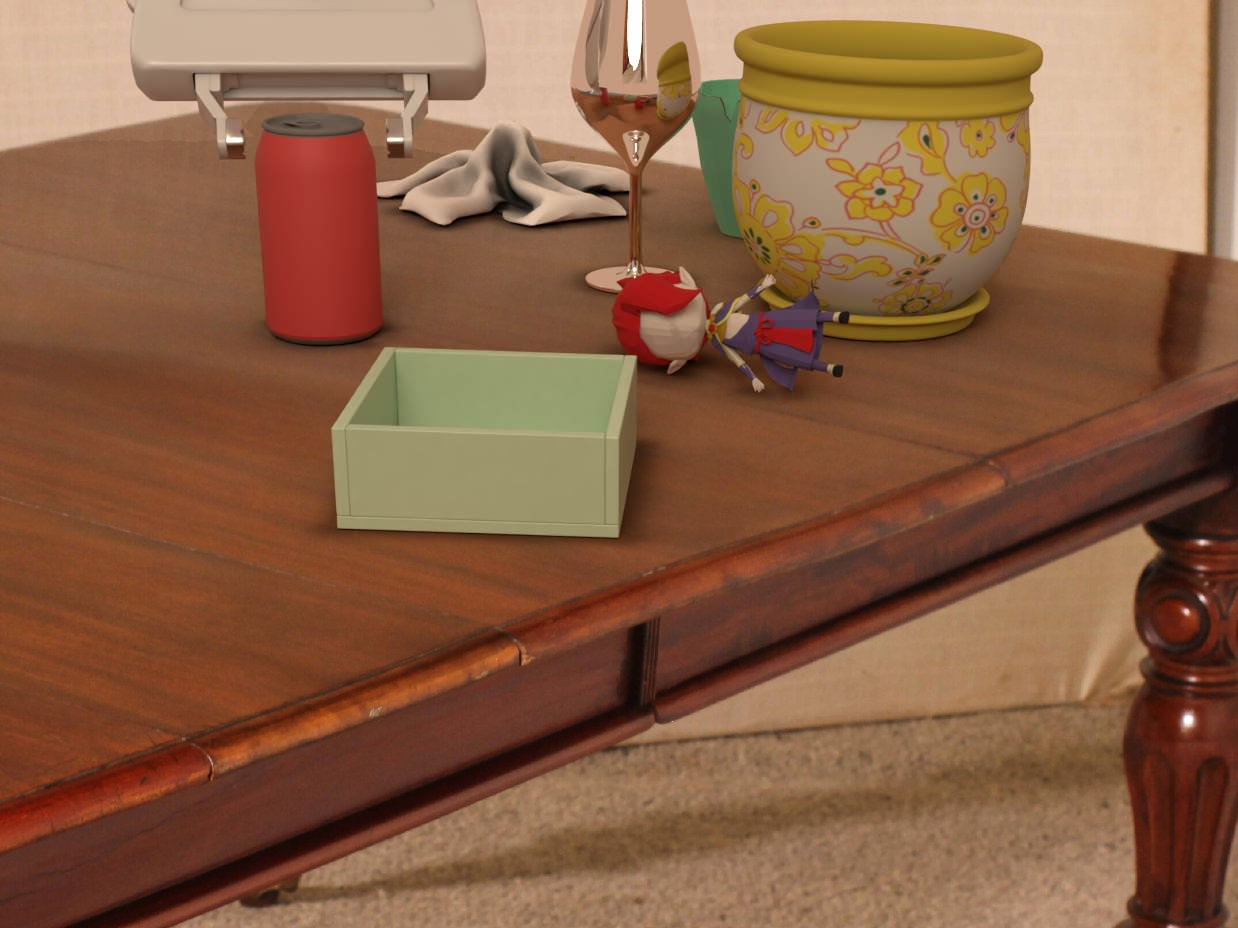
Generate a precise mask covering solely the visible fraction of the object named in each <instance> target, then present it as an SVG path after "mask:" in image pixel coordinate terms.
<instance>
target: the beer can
mask: <svg viewBox="0 0 1238 928" xmlns="http://www.w3.org/2000/svg"><path fill="white" fill-rule="evenodd" d="M260 126H261V128H262V132H261V135H260V138H259V142H258V145H257V148H256V152H255V157H254V158H255V159H254V173H255V188H256V199H257V201H256V202H257V213H258V215H257V216H258V227H259V228H258V229H259V242H260V243H259V244H260V254H261V255H260V256H261V264H262V265H261V268H262V282H263V293H264V294H263V295H264V309H265V320H266V321H265V323H266V325H267V328H268V329H269V330H270V331H271V333H272V334H273V335H274V336H275V337H277V338H279V339H281V340H283V341H287V342H289V343H290V342H291V343H295V344H300V345H306V346H307V345H308V346H336V345H345V344H350V343H351V344H352V343H355V342H359V341H362V340H365V339H368V338H370V337H371V336H373V335H374V334H376V333H377V332H379V330H380V329H381V327H382V324H383V321H384V311H383V310H384V309H383V288H382V272H381V271H382V269H381V268H382V267H381V247H380V228H379V227H380V226H379V205H378V196H377V183H378V182H377V167H376V165H377V164H376V163H377V162H376V158H375V155H374V151H373V148H372V146H371V143H370V141H369V138H368V136H367V134H366V132H365V129H364V127H365V122H364V120H362V119H361V118H359V117H356V116H353V115H347V114H343V113H341V114H340V113H328V112H300V113H299V112H298V113H286V114H278V115H274V116H270V117H267V118H265V119H264V120H263V121H262V122H261V124H260Z"/></svg>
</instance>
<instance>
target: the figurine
mask: <svg viewBox="0 0 1238 928" xmlns="http://www.w3.org/2000/svg"><path fill="white" fill-rule="evenodd" d="M670 271H671V270H669V271H665V272H663V273H655V274H654V273H643V274H642V275H640V276H637V277H635V278H634V277H628V278H624V279H621V280H619V281H617V283H618V284H619V285H620V286H621V287H622V288H623V289H622V290H621V291H620V292H619V293H617V295H616V298H615V300H614V302H613V305H612V307H611V314H612V318H611V323H612V325H613V326H614V328H615V332H616V337H617V340H618V343H619V345H620V346H621V348H622V349H623V351H624V352H625V353H626V355H632V356H637V362H638V363H639V362H640V363H642V364H644V365H654V366H667V365H669V366H668V370H667V372H666V374H667V375H672V374H673V373H675V372H677V371H678V370H679V369H681V368H682V367H684V365H686V363H687V361H689V360H691V361H693V362H697V361H698V358H699V353H700V351H701V350H702V349H703V348H704V346H705V345H706V344H707V343H708V341H709V340H710V342H711V346H712V347H714V348H715V349H716V350H717V351H718V352H719V353H720V354H722V355H723V356H724V357H725V358H727V359H728V360H729V361H730V362H732V363H733V364H735V365H736V367H737V369H738V370H739V372H740V373H741V374H743V376H745V377H746V378H747V379H748V380H749V381H750V382H751V383H752V387H753V389H754V392H755V393H756V392H758V393H761V392H762V389H763V390H765V384H764V383H762V381H761V380H760V379H758V378H757V377H756V375H755V374H754V372H753V370H751V367H750V366H749V365H748V364H747V363H746V362H745V360H744V359H743V358H741V356H740V355H739V352H740V353H742V354H744V355H747V356H749V357H752V356H753V355H756V356H758V355H759V358H760V360H761V362H762V364H763V366H764V368H765V370H766V371H767V373H768V375H769V377H771V379H772V380H774V381H775V382H776V383H777V384H779V385H780V386H782V387H786V388H787V389H789V390H790V391H791V392H793V391H794V387H795V383H796V379H797V376H798V375H797V374H798V371H799V370H804V371H807V372H813V371H817V372H823V373H826V374H830V375H831V376H833V377H834V378H839V379H841V378H842V377H843V374H844V365H843V364H832V363H828V362H825V361H822V360H820V355H821V351H822V347H823V339H824V338H823V337H824V335H823V326H824V324H823V322H838V323H842V324H847V323H849V317H850V314H849V311H843V312H821V311H820V310H815V309H816V308H817V307H818V306H819V304H820V302H819V301H818V299H817V297H816V296H815V294H814V286H813V280H812V278H811V288H812V291H811V292H810V293H809V294H808V295H807V296H806V297H805V298H804V299H802V300H801V301H799V302H797V303H795V304H793V305H792V306H788V307H785V308H782V309H778V310H773V311H771V310H766V311H759V312H756V313H752V312H750V314H745V313H742V308H743V307H744V306H745V305H746V304H748V303H750V302H751V301H753V300H754V299H755V298H757V297H758V296H759V294H760V293H761V292H762V291H763V290H765V289H766V288H767V287H769V286H771V285H773V284H775V283H776V282H774V281H775V280H776V279H774V280H773V278H774V277H772V274H771V275H770V276H769V274H768V275H767V276H766V275H765V276H766V278H765V279H764V281H763V283H762V284H760V285H758V286H757V285H756V286H755V287H753V288H751V289H749V290H748V291H747V292H745V293H744V294H743V295H741V296H739V297H737V298H735V299H732V300H730V301H729V302H727V303H726V301H722V302H719V303H717V304H716V305H715V306H714V307H713V309H712V310H710V306H709V302H708V300H707V298H706V296H705V293H704V292H703V287H700V288H698V286H697V285H696V282H695V280H694V279H693V277H692V275H691V274H690V273H689V272H688V271H687V270H686V269H685V267H684V266H682V265H681V266H679V267H678V270H676V271H673V272H674V273H671V272H670ZM679 274H680V276H679ZM768 277H769V278H768ZM771 277H772V278H771ZM779 363H781V364H782V365H781V364H779ZM783 365H786V366H783ZM787 366H788V367H787ZM791 367H792V368H791Z"/></svg>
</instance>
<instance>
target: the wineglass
mask: <svg viewBox="0 0 1238 928" xmlns="http://www.w3.org/2000/svg"><path fill="white" fill-rule="evenodd" d="M701 65H702V64H701V60H700V55H699V49H698V44H697V40H696V35H695V31H694V26H693V23H692V18H691V15H690V10H689V6H688V2H687V0H586V3H585V7H584V10H583V14H582V20H581V23H580V27H579V31H578V36H577V40H576V44H575V47H574V53H573V57H572V62H571V69H570V79H569V80H570V81H569V85H570V86H569V87H570V93H571V97H572V100H573V103H574V105H575V107H576V110H577V111H578V113H579V114H580V116H581V117H582V119H583V120H584V121H585V122H586V124H587V125H588V126H589V127H590V128H591V129H592V130H593V131H594V132H595V133H596V134H597V135H598V137H600V139H602V140H603V141H604V142H605V143H606V144H607V145H609V147H611V148H612V150H613V151H615V153H616V154H617V155H618V156H619V157H620V158H621V160H622V161H623V163H624V164H625V166H626V168H627V170H628V174H629V190H628V192H629V199H628V200H629V202H628V203H629V204H628V205H629V209H628V210H629V213H628V215H629V216H628V217H629V220H628V222H629V224H628V225H629V226H628V255H627V264H626V266H624V265H623V266H611V267H605V268H600V269H596V270H593V271H591V272H589V273H587V274H586V276H585V283H586V285H588V286H589V287H591V288H593V289H596V290H599V291H603V292H607V293H608V292H609V293H613V294H619V292H620V291H621V290H622V289H623V288H622V287H621V286H620V285H619V284H618V283H617V281H619V280H621V279H624V278H628V277H634V278H635V277H637V276H640V275H642V274H643V273H654V274H655V273H663V272H665V271H670V272H671V273H674V272H675V271H673V270H669V269H665V268H659V267H654V266H653V267H651V266H644V263H643V262H644V261H643V247H642V246H643V245H642V241H643V240H642V218H643V217H642V215H643V213H642V212H643V210H642V206H643V205H642V203H643V173H644V170H645V168H646V166H647V164H648V163H649V161H650V160H651V159H652V157H654V156H655V154H656V153H657V152H658V151H660V149H662V148H663V146H664V147H665V145H666V144H667V143H669V142H670V141H671V140H672V139H673V138H674V137H675V136H676V135H678V133H679V132H680V131H681V130H682V129H684V127H685V126H686V125H687V124H688V123H689V121H690V120H691V119H692V116H693V114H694V113H695V111H696V109H697V107H698V105H699V102H700V99H701V95H702V82H703V72H702V66H701ZM679 276H680V273H679Z"/></svg>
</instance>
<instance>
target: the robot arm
mask: <svg viewBox="0 0 1238 928" xmlns="http://www.w3.org/2000/svg"><path fill="white" fill-rule="evenodd" d="M125 1H126V5H127V7H128V9H129V10H130V12H131V13H132V14H133V15H132V20H131V21H132V22H131V29H130V40H129V57H130V65H131V70H132V75H133V77H134V82H135V85H136V87H137V88H138V89H139V90H140V91H141V92H142V93H143V95H145V96H146V97H147V98H148V99H149V100H151V101H153V102H197V107H198V113H199V115H200V116H201V118H202V119H203V120H204V122H205V123H206V124H207V126H208V127H209V128H210V129H211V130H212V132H213V133H214V135H215V136H216V144H217V152H218V157H219V160H220V161H222V160H223V161H225V160H228V161H229V160H232V161H233V160H246V159H247V152H246V151H247V150H246V133H245V126H244V119H243V118H235V117H234V118H233V117H230V118H229V117H228V115H227V114H226V112H225V102H292V101H293V102H305V101H306V102H308V101H309V102H322V101H323V102H338V101H339V102H345V101H349V102H351V101H353V102H357V101H360V102H361V101H364V102H366V101H369V102H371V101H374V102H377V101H381V102H382V101H387V102H388V101H389V102H390V101H391V102H392V101H393V102H394V101H395V102H396V101H397V102H398V101H401V102H402V101H403V110H402V113H401V114H400V116H399V117H385V138H386V139H385V140H386V153H387V154H386V155H387V159H413V157H414V144H413V143H414V142H413V136H415V134H416V132H417V131H418V129H419V127H420V126H421V124H422V123H423V121H424V120H425V118H426V116H427V115H428V114H429V101H472V100H474V99H475V98H476V97H477V96H478V95H479V94H480V93H481V91H482V90H483V89H484V88H485V86H486V81H487V46H486V39H485V31H484V26H483V21H482V16H481V12H480V8H479V4H478V1H477V0H125Z"/></svg>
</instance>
